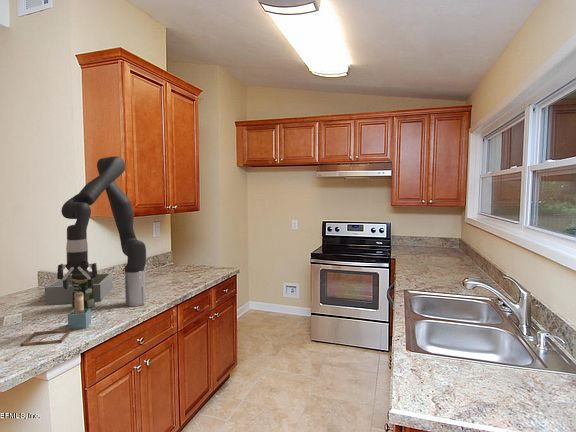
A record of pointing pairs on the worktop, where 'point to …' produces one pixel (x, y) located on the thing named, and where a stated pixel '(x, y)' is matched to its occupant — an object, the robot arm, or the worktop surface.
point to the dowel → (79, 303)
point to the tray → (26, 342)
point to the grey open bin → (64, 296)
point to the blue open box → (79, 319)
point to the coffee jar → (82, 290)
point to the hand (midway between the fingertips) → (77, 288)
